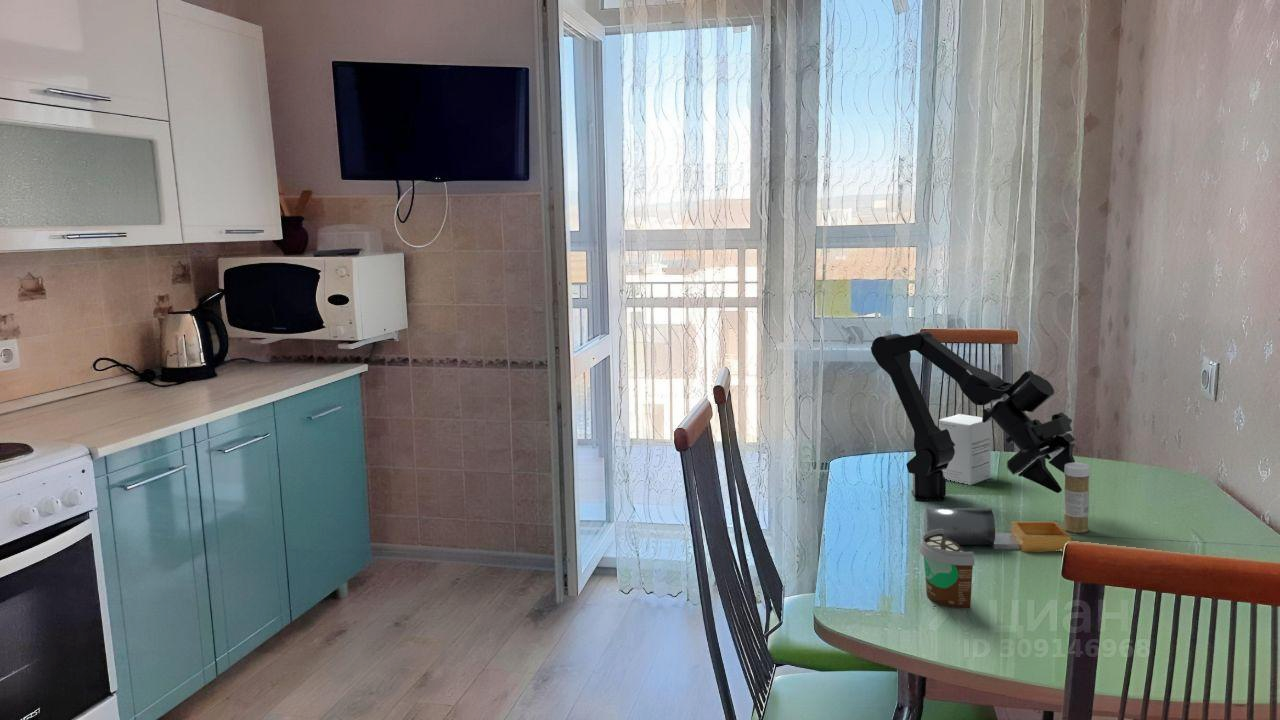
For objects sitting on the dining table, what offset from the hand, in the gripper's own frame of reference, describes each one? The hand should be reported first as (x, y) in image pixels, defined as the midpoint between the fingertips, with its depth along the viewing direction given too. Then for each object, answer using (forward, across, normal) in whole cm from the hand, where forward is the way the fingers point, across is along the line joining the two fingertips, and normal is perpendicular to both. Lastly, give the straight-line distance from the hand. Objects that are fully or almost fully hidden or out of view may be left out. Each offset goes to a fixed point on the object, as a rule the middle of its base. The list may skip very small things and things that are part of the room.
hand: (1070, 486), depth 174 cm
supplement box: (-18, +18, +30) cm, 40 cm away
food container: (+6, -47, +7) cm, 48 cm away
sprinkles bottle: (+7, 0, +6) cm, 9 cm away
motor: (+2, -17, +11) cm, 20 cm away
